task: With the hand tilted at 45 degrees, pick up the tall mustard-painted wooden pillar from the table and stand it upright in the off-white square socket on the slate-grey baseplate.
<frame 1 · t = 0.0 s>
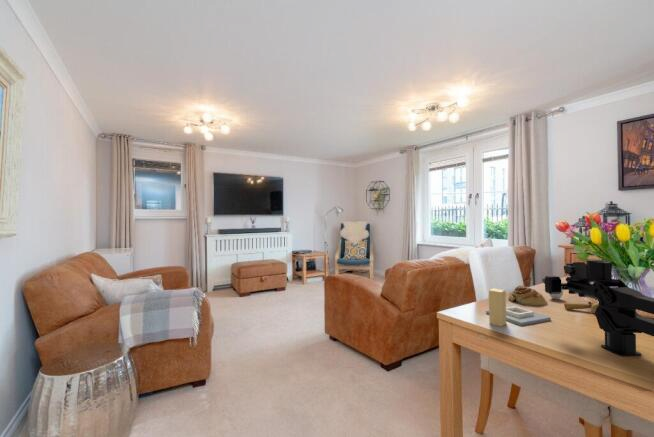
hand: (554, 279, 115), 17 cm above the table, tool horizontal, fingers open, 9 cm apart
pastry: (527, 302, 143), on the table
pillar: (497, 323, 115), on the table
frog figurine: (554, 299, 146), on the table
baseplate: (517, 316, 122), on the table
kendama: (591, 312, 126), on the table
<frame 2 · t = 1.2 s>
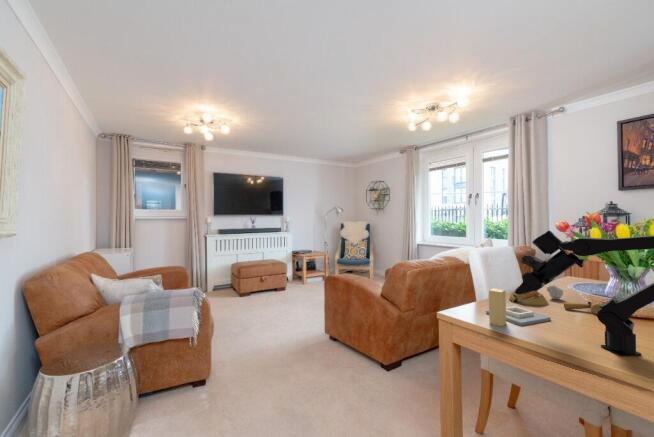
hand: (519, 290, 110), 14 cm above the table, tool tilted 45°, fingers open, 9 cm apart
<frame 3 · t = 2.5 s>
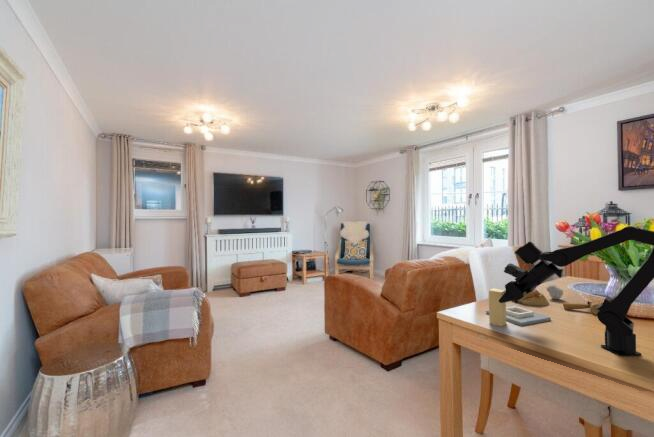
hand: (503, 299, 113), 10 cm above the table, tool tilted 45°, fingers open, 9 cm apart
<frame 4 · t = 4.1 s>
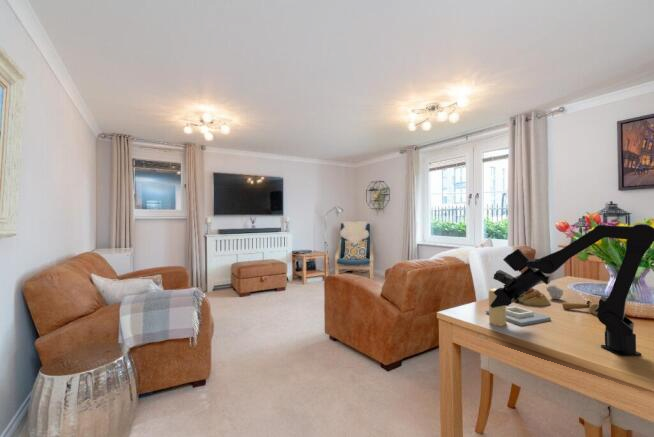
hand: (493, 305, 116), 7 cm above the table, tool tilted 45°, fingers closed on pillar, 4 cm apart
pillar: (497, 323, 115), on the table, touching gripper
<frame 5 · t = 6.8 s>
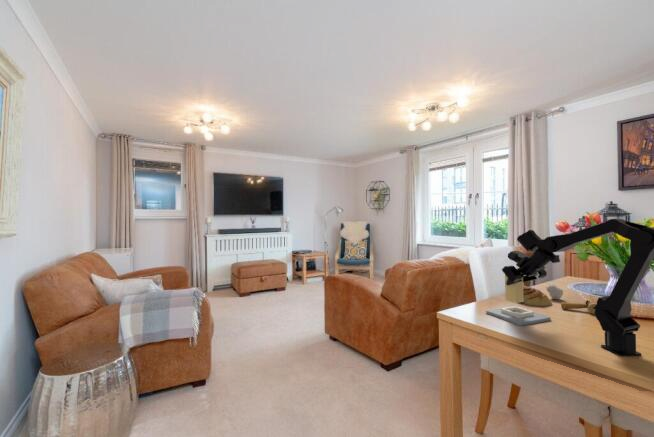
hand: (511, 283, 123), 13 cm above the table, tool tilted 45°, fingers closed on pillar, 4 cm apart
pillar: (514, 301, 122), point 7 cm above the table, touching gripper
when the fingers open (8 cm above the table, at t = 8.5 s): pillar stays where it is, resting on baseplate.
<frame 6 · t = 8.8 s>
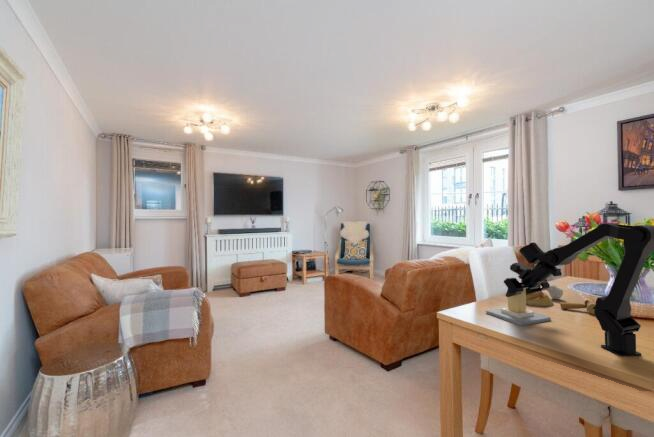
hand: (513, 295, 124), 9 cm above the table, tool tilted 45°, fingers open, 8 cm apart
pillar: (517, 313, 122), point 1 cm above the table, touching baseplate
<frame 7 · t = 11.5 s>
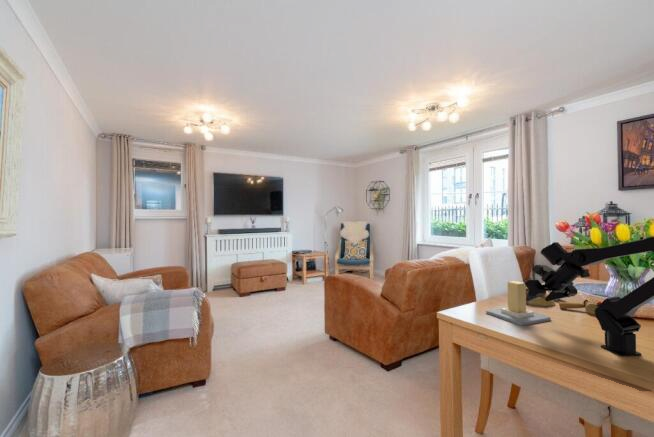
hand: (536, 300, 115), 9 cm above the table, tool tilted 40°, fingers open, 9 cm apart
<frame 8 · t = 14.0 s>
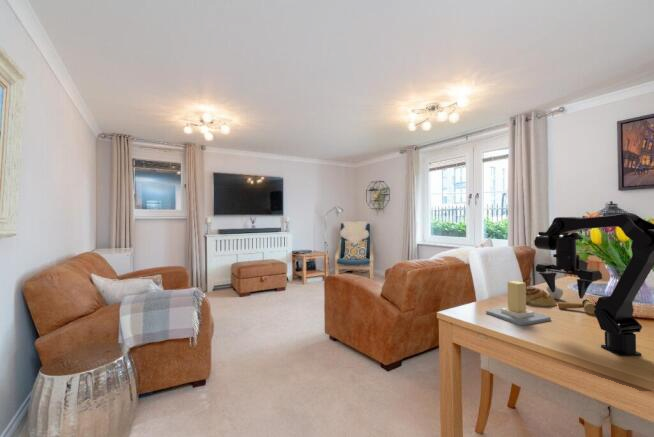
hand: (566, 295, 106), 13 cm above the table, tool pointing down, fingers open, 9 cm apart
at the end: pillar 0.0 cm off-centre on the baseplate, point 1.2 cm above the baseplate's base; pillar tilted 0°; the gripper is holding nothing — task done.
